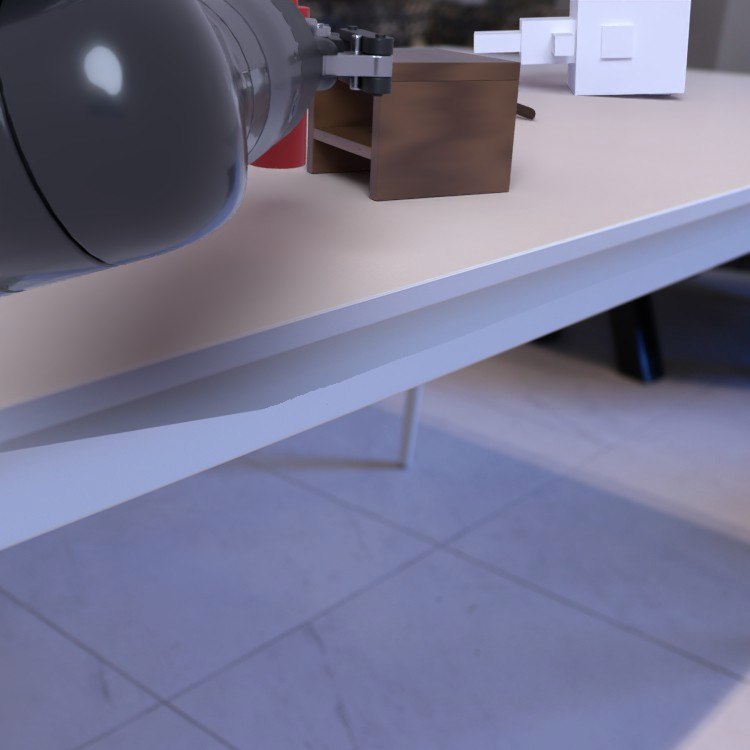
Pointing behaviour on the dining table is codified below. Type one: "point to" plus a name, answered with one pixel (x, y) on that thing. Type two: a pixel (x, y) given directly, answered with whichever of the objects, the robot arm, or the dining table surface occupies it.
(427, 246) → the dining table surface
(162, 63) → the robot arm
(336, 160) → the shelf
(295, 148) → the bottle
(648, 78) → the blocky voxel creature
